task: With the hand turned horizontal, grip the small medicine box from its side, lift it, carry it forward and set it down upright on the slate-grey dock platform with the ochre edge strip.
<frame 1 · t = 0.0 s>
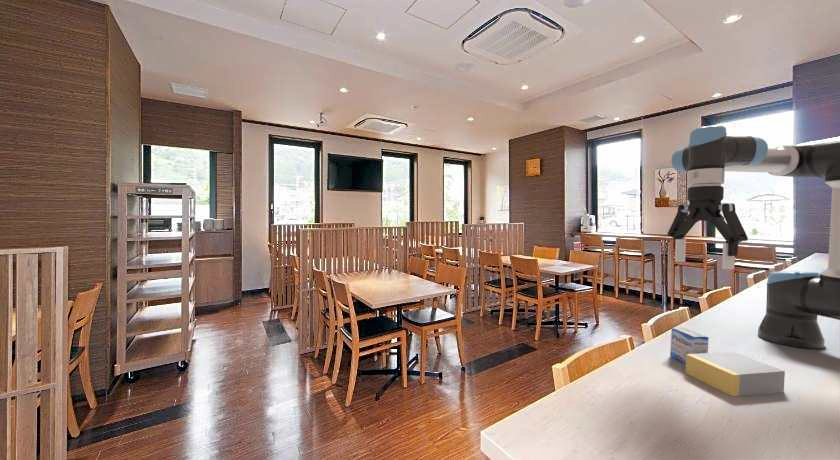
hand: (702, 265, 94), 28 cm above the table, tool pointing down, fingers open, 13 cm apart
dock: (731, 381, 87), on the table
medicine box: (688, 362, 99), on the table
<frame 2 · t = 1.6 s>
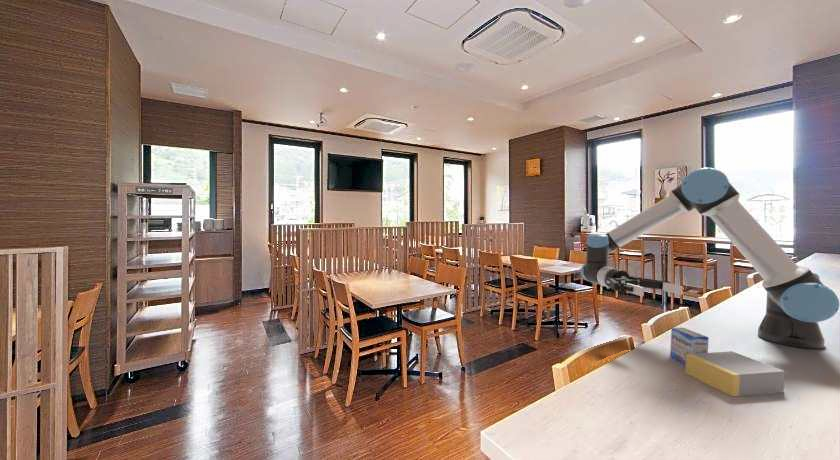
hand: (662, 291, 107), 18 cm above the table, tool horizontal, fingers open, 13 cm apart
nothing on the table moved.
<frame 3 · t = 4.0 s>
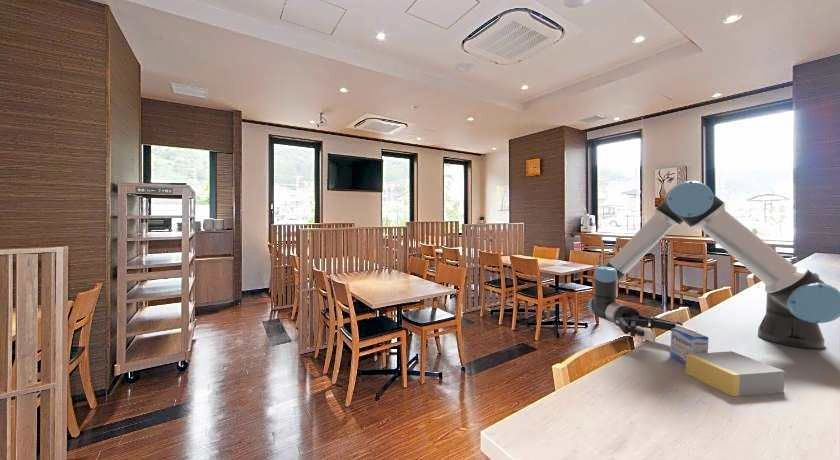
hand: (675, 336, 102), 6 cm above the table, tool horizontal, fingers open, 13 cm apart
nothing on the table moved.
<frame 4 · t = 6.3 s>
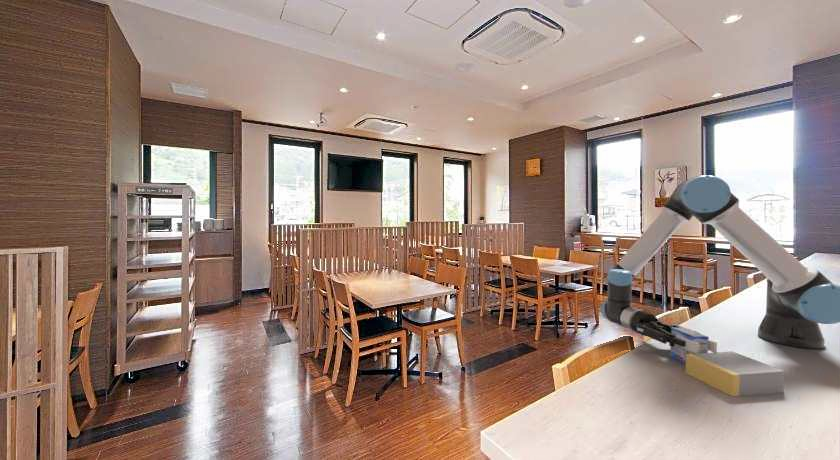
hand: (706, 347, 93), 6 cm above the table, tool horizontal, fingers closed on medicine box, 5 cm apart
medicine box: (688, 362, 99), on the table, touching gripper
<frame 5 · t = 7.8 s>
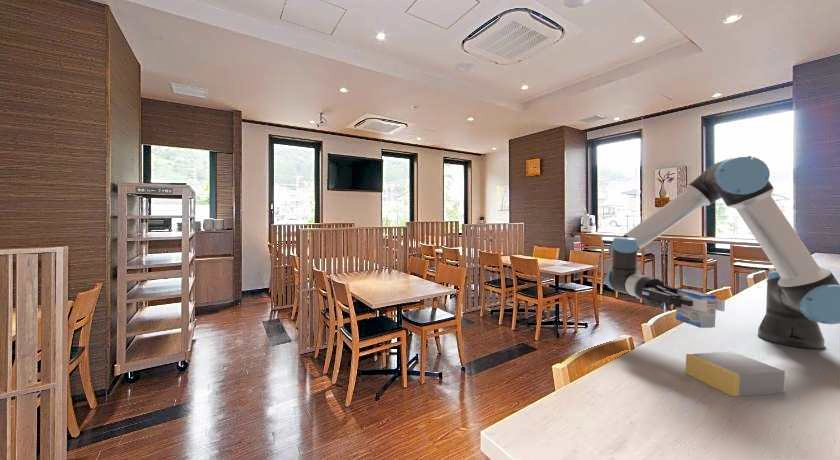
hand: (714, 306, 90), 18 cm above the table, tool horizontal, fingers closed on medicine box, 4 cm apart
medicine box: (694, 324, 96), point 12 cm above the table, touching gripper
when the fingers open (12 cm above the table, at t = 9.8 s): medicine box drops 1 cm, resting on dock.
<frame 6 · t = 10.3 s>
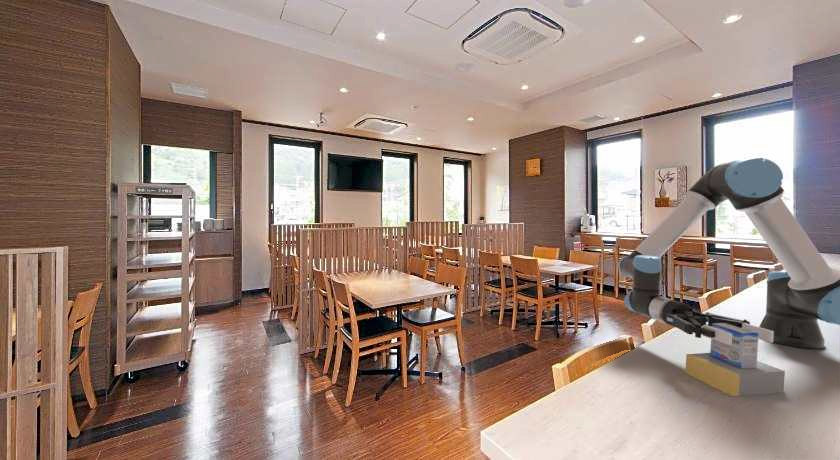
hand: (751, 338, 82), 12 cm above the table, tool horizontal, fingers open, 11 cm apart
medicine box: (732, 362, 87), point 5 cm above the table, touching dock
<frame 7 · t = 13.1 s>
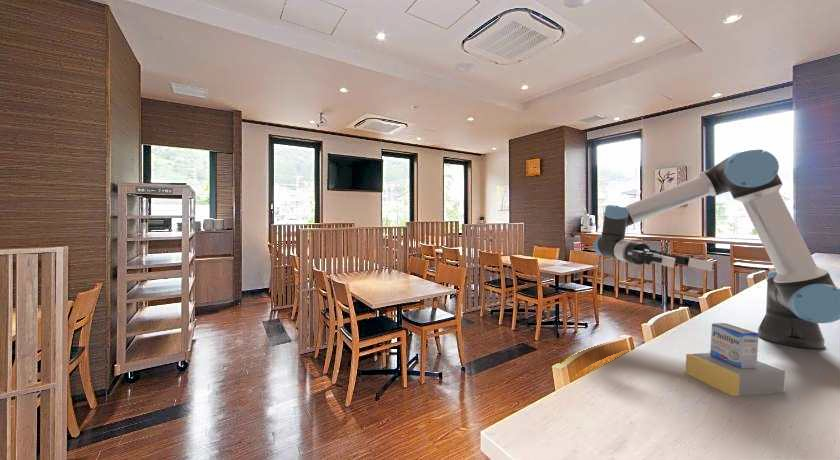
hand: (693, 264, 99), 27 cm above the table, tool horizontal, fingers open, 13 cm apart
nothing on the table moved.
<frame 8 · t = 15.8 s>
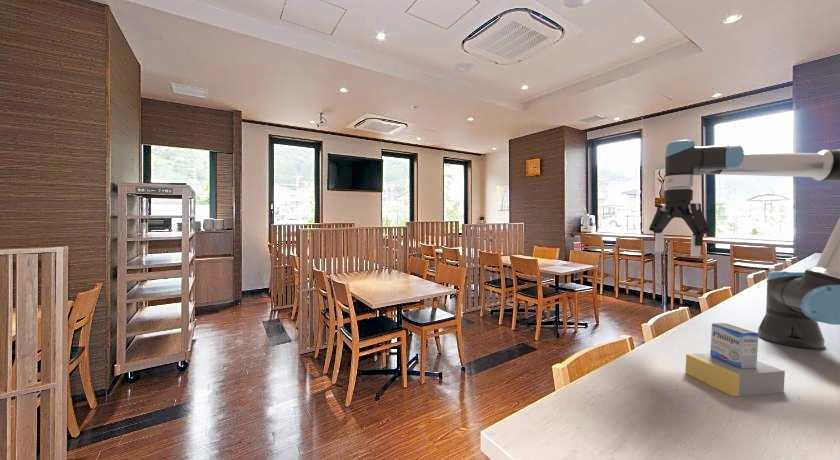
hand: (676, 253, 115), 29 cm above the table, tool pointing down, fingers open, 13 cm apart
nothing on the table moved.
at the end: medicine box inside the target area on the dock (0.1 cm from its centre), point 4.8 cm above the dock's base; medicine box tilted 0°; the gripper is holding nothing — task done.
